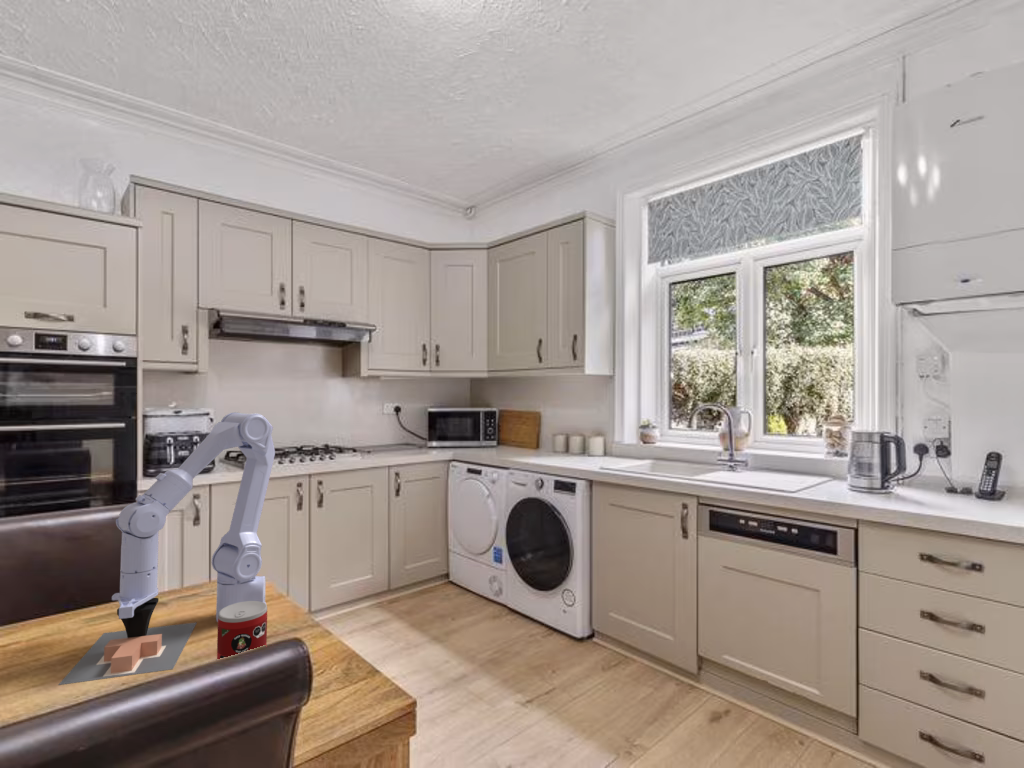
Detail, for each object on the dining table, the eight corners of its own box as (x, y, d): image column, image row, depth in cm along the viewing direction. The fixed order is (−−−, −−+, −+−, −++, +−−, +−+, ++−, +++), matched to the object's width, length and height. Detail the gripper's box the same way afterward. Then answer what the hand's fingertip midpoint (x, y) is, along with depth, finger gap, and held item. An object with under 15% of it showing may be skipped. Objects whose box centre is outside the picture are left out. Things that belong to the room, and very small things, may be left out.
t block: (161, 647, 100) (161, 633, 100) (148, 668, 93) (149, 653, 93) (110, 653, 97) (110, 640, 97) (92, 675, 90) (93, 660, 90)
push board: (196, 627, 111) (196, 622, 111) (172, 674, 92) (172, 669, 92) (103, 638, 106) (103, 633, 106) (57, 691, 87) (58, 684, 87)
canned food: (214, 689, 88) (215, 621, 88) (218, 666, 95) (220, 604, 96) (265, 680, 91) (267, 614, 91) (266, 658, 99) (267, 598, 99)
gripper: (126, 559, 105) (124, 629, 105) (98, 583, 92) (96, 664, 91) (168, 556, 108) (166, 624, 108) (147, 579, 94) (144, 658, 94)
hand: (137, 642), depth 100 cm, fingers closed
